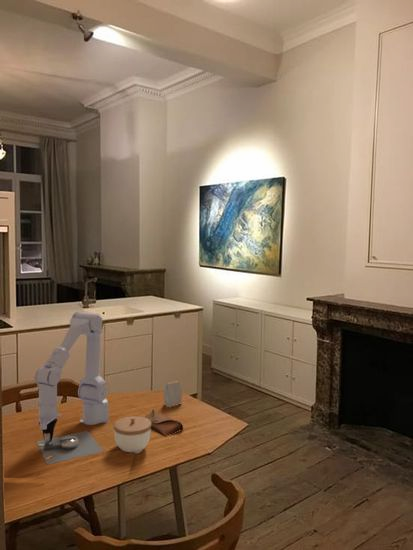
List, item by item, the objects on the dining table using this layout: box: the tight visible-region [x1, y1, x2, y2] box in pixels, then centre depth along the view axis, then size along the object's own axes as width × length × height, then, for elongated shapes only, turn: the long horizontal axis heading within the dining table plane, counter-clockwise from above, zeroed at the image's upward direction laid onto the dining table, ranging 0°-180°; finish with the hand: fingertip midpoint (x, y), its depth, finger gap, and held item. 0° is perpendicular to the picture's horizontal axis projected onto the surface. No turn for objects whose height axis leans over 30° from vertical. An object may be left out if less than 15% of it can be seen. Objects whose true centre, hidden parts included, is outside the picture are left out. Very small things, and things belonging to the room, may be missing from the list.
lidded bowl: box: [113, 415, 152, 455], centre depth 154 cm, size 13×13×11 cm
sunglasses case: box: [144, 409, 184, 437], centre depth 174 cm, size 18×7×7 cm, turn 46°
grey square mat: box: [36, 430, 104, 465], centre depth 153 cm, size 18×18×1 cm
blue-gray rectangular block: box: [163, 380, 183, 408], centre depth 195 cm, size 4×7×10 cm, turn 131°
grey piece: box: [43, 432, 78, 450], centre depth 152 cm, size 11×6×5 cm, turn 108°
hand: (48, 441), depth 153 cm, fingers closed, pressing on grey piece
